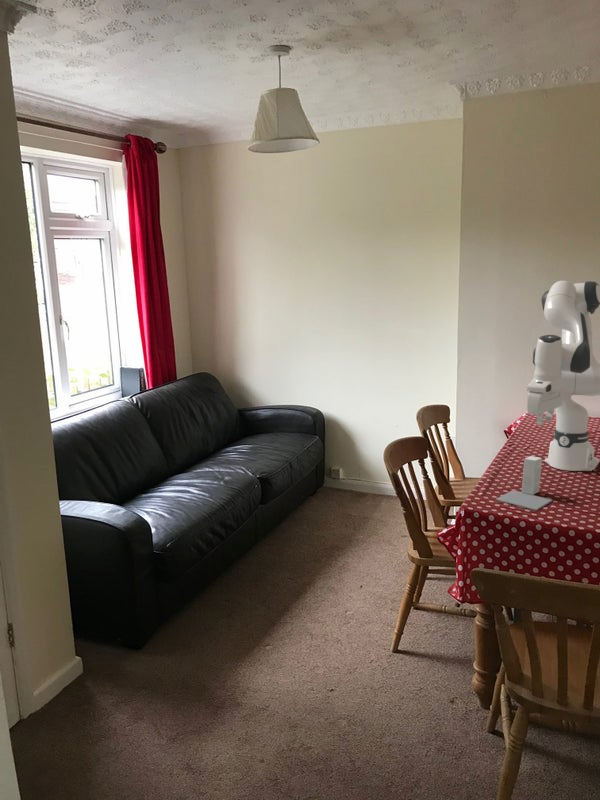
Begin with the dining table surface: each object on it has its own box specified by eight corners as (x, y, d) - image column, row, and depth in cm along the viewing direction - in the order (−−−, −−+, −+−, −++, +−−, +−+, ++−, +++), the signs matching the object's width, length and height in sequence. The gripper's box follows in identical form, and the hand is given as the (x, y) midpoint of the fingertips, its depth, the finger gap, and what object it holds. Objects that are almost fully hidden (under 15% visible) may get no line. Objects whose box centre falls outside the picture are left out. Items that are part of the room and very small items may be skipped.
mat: (512, 491, 230) (512, 490, 230) (552, 501, 220) (552, 499, 220) (495, 500, 221) (495, 499, 221) (535, 510, 212) (536, 509, 212)
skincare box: (526, 489, 231) (530, 455, 230) (539, 491, 229) (542, 457, 227) (520, 492, 227) (524, 458, 225) (533, 495, 224) (536, 460, 223)
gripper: (551, 378, 235) (548, 416, 238) (524, 386, 221) (522, 427, 224) (569, 380, 231) (566, 419, 234) (542, 388, 217) (540, 430, 220)
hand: (544, 423), depth 229 cm, fingers open, 5 cm apart
